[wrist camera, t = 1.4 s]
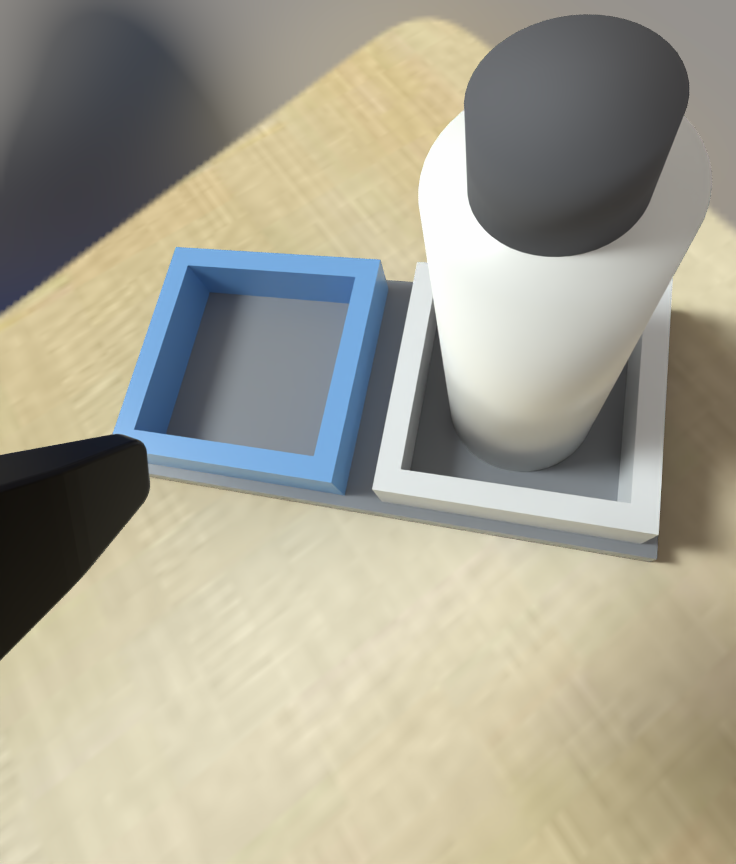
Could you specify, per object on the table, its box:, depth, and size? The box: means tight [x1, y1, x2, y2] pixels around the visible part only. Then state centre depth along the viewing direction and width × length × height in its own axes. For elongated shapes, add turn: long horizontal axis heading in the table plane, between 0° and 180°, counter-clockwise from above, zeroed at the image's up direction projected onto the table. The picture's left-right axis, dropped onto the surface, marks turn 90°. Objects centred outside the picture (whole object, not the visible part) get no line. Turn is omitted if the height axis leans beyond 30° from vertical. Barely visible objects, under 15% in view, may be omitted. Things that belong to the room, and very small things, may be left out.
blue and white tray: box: [113, 247, 673, 562], centre depth 21 cm, size 20×9×3 cm, turn 79°
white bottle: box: [419, 15, 712, 472], centre depth 15 cm, size 5×5×13 cm
